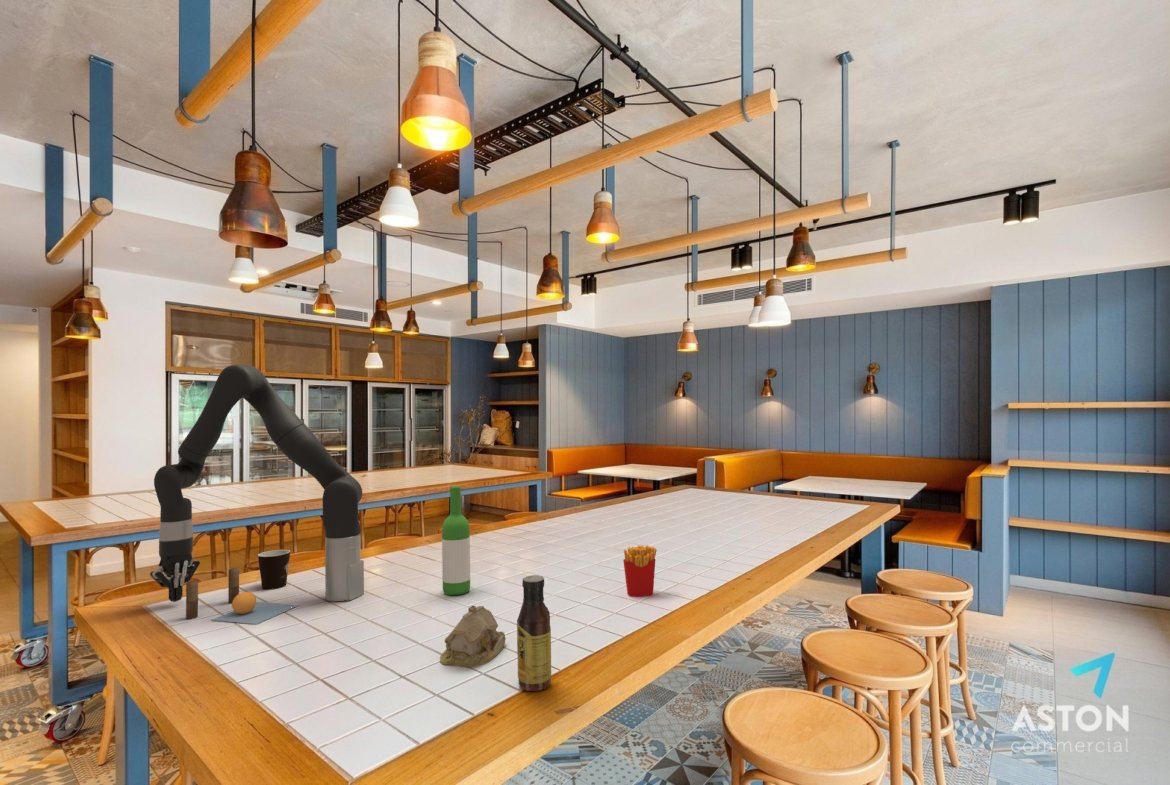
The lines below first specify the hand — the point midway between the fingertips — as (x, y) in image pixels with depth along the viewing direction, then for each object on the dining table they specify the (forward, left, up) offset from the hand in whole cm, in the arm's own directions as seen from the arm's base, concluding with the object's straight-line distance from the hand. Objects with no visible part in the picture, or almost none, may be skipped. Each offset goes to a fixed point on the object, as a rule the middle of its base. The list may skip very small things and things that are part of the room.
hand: (175, 600), depth 154 cm
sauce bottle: (-112, +22, -2) cm, 114 cm away
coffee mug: (-13, -22, -2) cm, 26 cm away
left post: (-13, +6, -2) cm, 15 cm away
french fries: (-123, -34, -2) cm, 128 cm away
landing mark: (-27, 0, -2) cm, 27 cm away
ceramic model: (-94, +11, -2) cm, 95 cm away
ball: (-24, +1, +1) cm, 24 cm away
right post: (-13, -6, -2) cm, 15 cm away
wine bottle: (-71, -26, -2) cm, 76 cm away
